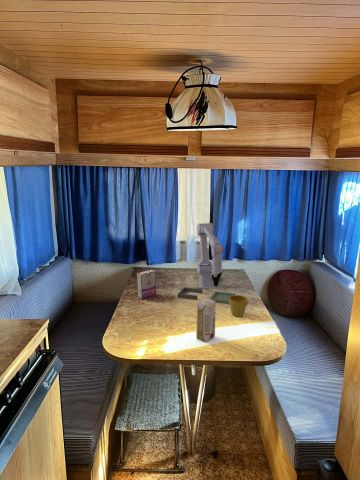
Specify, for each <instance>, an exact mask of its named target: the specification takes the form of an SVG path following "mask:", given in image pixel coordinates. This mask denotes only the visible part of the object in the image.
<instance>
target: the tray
mask: <svg viewBox="0 0 360 480" xmlns="http://www.w3.org/2000/svg"><path fill="white" fill-rule="evenodd" d="M233 295H237V294H236V293H233V292H225V291H224V292H223V291H217V290H216V291H214V292H213V294H211V296H210V297H209V299H211V300H214V301H215V303H218V304H227V305H230V304H229V297H230V296H233Z"/></svg>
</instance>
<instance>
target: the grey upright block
mask: <svg viewBox="0 0 360 480" xmlns="http://www.w3.org/2000/svg"><path fill="white" fill-rule="evenodd" d="M223 288H224V278H223V277H220V278H219V283H218V286H214V282H213V279H212V277H210V279H209V289H210V290H211V289H212V290H223ZM209 289H208V290H209Z"/></svg>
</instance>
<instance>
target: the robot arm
mask: <svg viewBox="0 0 360 480" xmlns="http://www.w3.org/2000/svg"><path fill="white" fill-rule="evenodd" d="M196 234H197V236H198V237H199V242H200V243H199V247H200V260H199V261H198V262H197V263H196V272H197V274H198V275H199V278H198V280H199V281H198V282H199V285H197V289H208V290H209V279H210V277H212V279H213V282H214V286H218V283H219V278H222V277H221V276H222V274H223V270H222V269H223V268H222V267H223V264H222V263H223V254H224V251H225V249H224V244H223V243H220V241H219V239H218V237H217V236H215V235H214V225H213V223H212V222H210V223H209V222H208V223H207V222H205V223H197V226H196ZM208 243H209V246H210V248H211V249H210V251H211V257H212V262H211V261H210V260H209V255H208V254H209V253H208V252H209V250H208Z"/></svg>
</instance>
